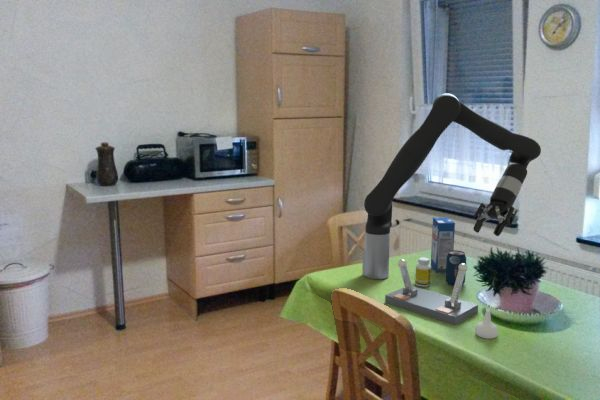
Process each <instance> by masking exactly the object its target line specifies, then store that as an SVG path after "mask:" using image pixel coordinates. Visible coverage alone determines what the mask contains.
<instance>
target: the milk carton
mask: <svg viewBox="0 0 600 400" xmlns="http://www.w3.org/2000/svg"><path fill="white" fill-rule="evenodd" d="M455 225H456V223H455V222H454V221H453V219H451V218H449V217H432V228H431V229H432V230H431V231H432V232H431V251H430V254H431V255H430V266H431V269H433V271H434V272H435V273H436V274H446V259H447V255H448V252H449V251H452V250H454V249H455V248H454V247H455V246H454V245H455V227H456V226H455Z"/></svg>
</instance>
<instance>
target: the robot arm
mask: <svg viewBox="0 0 600 400" xmlns="http://www.w3.org/2000/svg"><path fill="white" fill-rule="evenodd" d="M452 123H456V124H458V125H460V126H461V127H464V129H465V128H466V129H468V130H469V131H470V132H471V133H473V134H474V135H476V136H477V137H479V138H480V139H481V140H483V141H484V142H486V143H488V144H490V145H491V146H493V147H495V148H497V149H499V150H501V151H511V153H510V156H509V159H508V163H507V166H506V168H505V170H504V172H503V174H502V176H501V177H500V179H499V180H498V182H497V184H496V186H495V188H494V190H493V192H492V194H491V196H490V198H489V200H490V201H489V203H488V204H487V205H486V204H484V203H483V202H482V203H480V205H479V207H478V208H477V210H476V211H475V213H474V215H473V218H474V219H475V220H476V222H475V224H474V226H473V231H474V232H475V233H477V234H478V233H480V231H481V229H482V227H483V225H484V223H485V222H487V221H490V220H495V219H496V220H497V221H498V223H497V224H496V226H495V228H494V231H493V235H495V236H496V237H499V236H500V235H501V234H502V232H503V230H504V228H505V227H507V226H508V227H511V226H512V224H513V222H514V220H515V218H516V215H517V213H518V211H517V210H516V208H515V207H514V206H513V205H514V204H515V202H516V200H517V197H518V196H519V194H520V191H521V188H522V186H523V183H524V181H525V180H526V178H527V176H528V170H527V168H528V166H529V164H530V163H531V162H532V161H534V160H536V159H537V158H538V157H539V156H540V155H541V152H542V148H541V146H540V144H539V142H537V141H536V140H535V139H533V138H531V137H529V136H525V135H523V134H519V133H516V132H512V131H511V130H509V129H508V128H505V127H504V126H502V125H500V124H498V123H497V122H494V121H493V120H491V119H489V118H487V117H485V116H482V115H481V114H479V113H477V112H476V111H474V110H473V109H471V108H470V107H468V106H467V105H466V104H464V103H463V102H462V101H460V100H459V99H458V98H457V97H456V96H455V95H454V94H452V93H449V92H448V93H446V92H444V93H441V94H439V95H437V96H436V97H435V98H434V100H433V103H432V108H431V109H430V111H429V112H428V115H427V116H426V118H425V119H424V121H423V123H422V124H421V125H420V127H419V128H418V129H417V130H416V131H415V132H414V133H413V134H412V135H410V137H409V138H408V139H407V140H406V141H405V142H404V144H403V145H402V146H401V148H400V149H399V151H398V152H397V154H396V155H395V157H394V158H393V160H392V161H391V163H390V164H389V166H388V168H387V170H386V171H385V173H384V175H383V177H381V180H380V181H379V182H378V183H377V185H375V187H374V188H373V189H372V190H371V191H370V193H368V194H367V195H366V197H365V199H364V202H363V203H364V204H363V205H364V210H365V212H366V213H367V220H366V224H365V232H364V234H365V236H364V237H365V242H364V249H363V250H362V270H361V271H362V273H361V274H362V275H363V276H364V277H365V278H368V279H372V280H385V279H387V278H389V275H390V249H391V248H390V246H391V244H390V243H391V242H390V240H391V225H392V222H393V221H392V218H393V199H394V198H395V196H396V195H397V194H398V192H399V190H401V188H402V187H403V186H404V185H405V184H406V183H407V182H408V181H409V180H410V179H411V178H412V177H413V176H414V175H415V173H416V172H417V171H418V170H419V169H420V167H421V166H422V164H423V163H424V161H425V160H426V159H427V157H428V156H429V154H430V153H431V151H432V149H433V148H434V146H435V144H436V143H437V141H438V140H439V137H441V135H442V134H443V133H444V132H445V131H446V130H447V128H448V127H449V126H450V125H451V124H452Z"/></svg>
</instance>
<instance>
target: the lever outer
mask: <svg viewBox="0 0 600 400" xmlns="http://www.w3.org/2000/svg"><path fill="white" fill-rule="evenodd" d="M468 267H469V266H468V265H467V263H466V264H464V263H462V264H460V265H459V267H458V268H459V271H458V274H457V278H456V282H455V285H454V286H453V289H452V294H451V296H450V297H451V300H450V303H453V304H454V303H455V302H457V301H458V299H459V297H460V293H461V290H462V287H463V285H462V283H463V279H464V276H465V277H466V274H465V272H467V271H468Z"/></svg>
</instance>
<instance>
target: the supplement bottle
mask: <svg viewBox="0 0 600 400" xmlns="http://www.w3.org/2000/svg"><path fill="white" fill-rule="evenodd" d="M431 272H432V266H431V264H430V258H429V257H424V256H422V257H418V259H417V264H416V265H415V277H414V278H415V279H414V284H415V285H416V286H417V287H420V288H424V287H427V288H428V287H429V286H430V285H431V276H432V273H431Z"/></svg>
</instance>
